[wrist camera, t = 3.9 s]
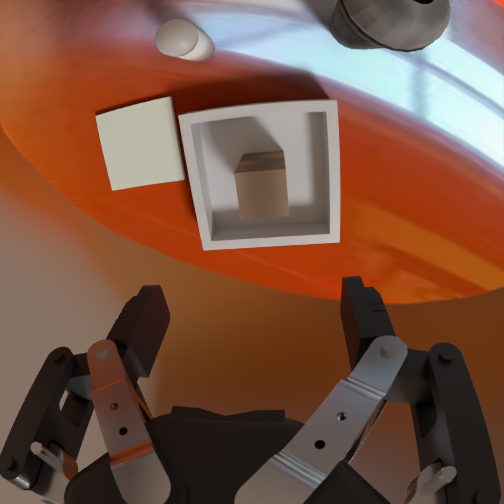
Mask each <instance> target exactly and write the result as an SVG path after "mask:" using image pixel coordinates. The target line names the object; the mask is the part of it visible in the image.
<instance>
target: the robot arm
mask: <svg viewBox="0 0 504 504" xmlns="http://www.w3.org/2000/svg"><path fill="white" fill-rule="evenodd" d="M340 312H341V313H340V314H341V321H342V326H343V331H344V336H345V341H346V346H347V351H348V356H349V362H350V367H351V374H350V376H349V377H348V378H347V379H345V378H343V379H342V380H340V382H339V383H338V384H337V385H336V387H335V388H334V389H333V391H332V392H331V393H330V395H329V396H328V397H327V398H326V400H325V401H324V402H323V403H322V405H321V406H320V407H319V408H318V409H317V411H316V412H315V413H314V414H313V416H312V417H311V418H310V419H309V420H308V422H307V423H306V424H303V423H302V422H299V421H297V420H294V419H290V418H285V410H255V411H250V412H245V413H240V414H235V415H229V416H224V415H220V414H217V413H213V412H210V411H206V410H203V409H200V408H191V407H180V406H173V407H172V411H171V413H170V414H165V415H161V416H158V417H156V418H154V417H153V415H152V413H151V411H150V409H149V407H148V404H147V402H146V400H145V398H144V396H143V393H142V391H141V389H140V386H139V384H138V383H137V381H138V378H139V377H145V378H148V377H149V375H150V372H151V370H152V367H153V364H154V362H155V359H156V356H157V354H158V351H159V349H160V346H161V343H162V341H163V338H164V336H165V333H166V330H167V328H168V325H169V322H170V312H169V309H168V306H167V303H166V300H165V297H164V294H163V291H162V289H161V287H160V286H159V285H144V286H142V288H141V290H140V291H139V293H138V295H137V296H134V297H132V299H131V300H129V301H128V302H127V303H126V304H125V306H124V308H123V310H122V312H121V313H120V315H119V317H118V319H117V320H116V322H115V323H114V325H113V327H112V329H111V331H110V332H109V334H108V336H107V338H106V340H100V341H98V342H96V343H94V344H93V345H92V346H91V347H90V348H89V350H88V352H87V353H83V354H77V355H73V354H72V352H71V350H70V349H69V348H67V347H59V348H57V349H55V350H53V351H52V352H51V353H50V354H49V355H48V357H47V359H46V360H45V362H44V364H43V366H42V368H41V370H40V371H39V373H38V375H37V377H36V379H35V381H34V383H33V385H32V387H31V389H30V390H29V393H28V394H27V397H26V398H25V401H24V403H23V405H22V407H21V409H20V411H19V413H18V415H17V417H16V420H15V422H14V424H13V426H12V428H11V431H10V433H9V435H8V438H7V440H6V442H5V445H4V447H3V450H2V452H1V455H0V474H1V476H2V477H3V478H5V479H6V480H8V481H9V482H11V483H12V484H14V485H15V486H16V487H18V488H19V489H21V490H22V491H24V492H25V493H27V494H29V495H30V496H32V497H34V498H36V499H38V500H41V501H43V502H45V503H46V504H391V503H390V502H389V501H387V499H386V498H385V497H383V496H382V495H381V494H380V493H379V492H378V491H377V490H376V489H374V488H373V487H372V486H371V485H370V484H369V483H368V482H367V481H366V480H365V479H364V478H363V477H362V476H361V475H359V474H358V473H357V472H356V471H355V470H354V469H353V468H352V467H351V466H350V465H349V463H350V462H351V460H352V459H353V458H354V456H355V455H356V453H357V452H358V450H359V449H360V447H361V446H362V444H363V442H364V441H365V439H366V437H367V436H368V434H369V432H370V431H371V429H372V428H373V426H374V424H375V423H376V421H377V420H378V418H379V416H380V415H381V413H382V411H383V410H384V408H385V406H386V404H387V403H388V401H394V402H402V403H409V404H410V407H411V412H412V417H413V423H414V429H415V435H416V441H417V448H418V455H419V463H420V471H421V473H420V474H418V475H417V477H415V478H414V479H413V480H412V481H411V482H410V484H409V486H408V488H407V491H406V498H405V502H404V504H499V502H500V497H501V490H500V484H499V478H498V473H497V468H496V463H495V459H494V454H493V450H492V446H491V442H490V438H489V434H488V431H487V427H486V424H485V420H484V417H483V413H482V410H481V407H480V404H479V400H478V398H477V394H476V392H475V389H474V386H473V383H472V380H471V377H470V374H469V372H468V369H467V367H466V364H465V361H464V359H463V356H462V354H461V352H460V351H459V349H458V348H457V347H455V346H454V345H452V344H449V343H437V344H435V345H433V346H432V347H431V349H430V351H429V352H427V351H420V350H413V349H409V348H407V346H406V345H405V343H404V342H403V341H402V340H400V339H399V338H397V337H396V335H395V332H394V329H393V326H392V324H391V321H390V318H389V316H388V313H387V311H386V308H385V305H384V304H383V300H382V297H381V295H380V293H379V292H377V291H376V290H375V289H374V288H373V287H364V285H363V282H362V279H361V277H360V276H352V277H343V279H342V290H341V303H340ZM65 390H66V391H67V392H68V393H69V394H68V396H67V398H66V401H65V403H64V405H63V408H62V410H61V411H60V407H59V403H60V400H61V398H62V396H63V393H64V391H65ZM94 408H95V412H96V415H97V418H98V422H99V425H100V429H101V432H102V435H103V438H104V441H105V444H106V447H107V450H108V452H107V453H105V454H104V455H103V456H101V457H100V458H99V459H97V460H96V461H94V462H93V463H92V464H90V465H89V466H88V467H86V468H84V469H83V470H82V471H80V472H78V465H77V462H76V460H77V457H78V454H79V450H80V447H81V444H82V441H83V438H84V435H85V432H86V429H87V427H88V424H89V421H90V418H91V415H92V413H93V410H94Z"/></svg>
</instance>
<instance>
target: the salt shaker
mask: <svg viewBox="0 0 504 504" xmlns="http://www.w3.org/2000/svg"><path fill="white" fill-rule="evenodd" d="M155 43H156V46H157V48H158V50H159V51H160V52H162V53H163V54H165V55H169V56H173V57H179V58H183V59H186V60H190V61H193V62H204V61H206V60H208V59H209V58H210V57H211V56H212V55H213V53H214V50H215V45H214V42H213V40H212V39H211V38H209V37H208V36H207V35H205V34H204V33H203V32H201V31H200V30H198V29H197V28H196V27H195V26H194V25H192V24H191V23H189V22H188V21H186V20H184V19H172V20H169V21H167V22H165V23H164V24H163V25H162V26H161V27H160V28H159V29H158V31H157V33H156V37H155Z"/></svg>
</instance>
